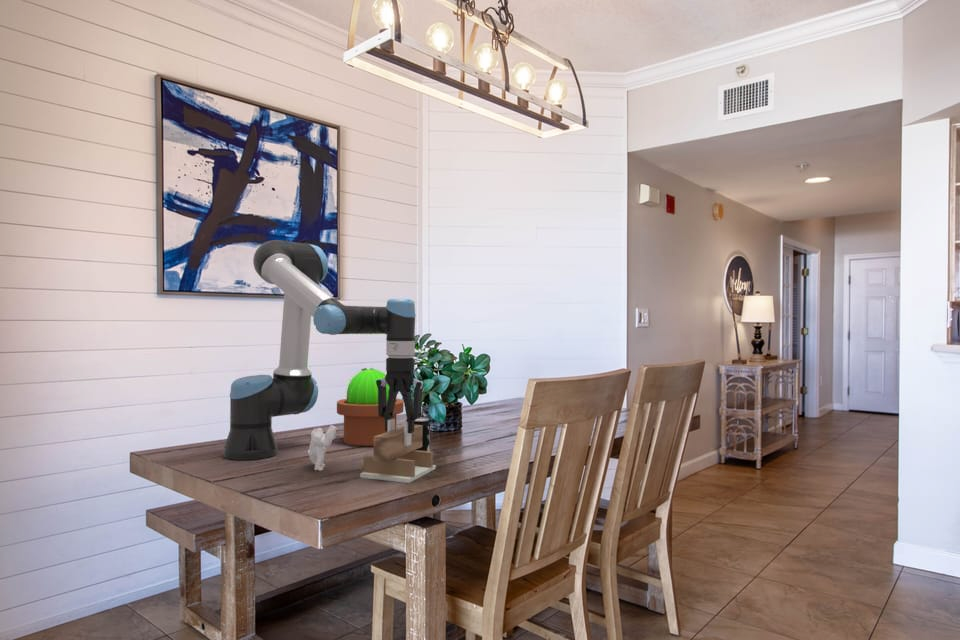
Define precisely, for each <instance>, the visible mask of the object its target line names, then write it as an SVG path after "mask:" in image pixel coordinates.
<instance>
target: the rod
mask: <svg viewBox="0 0 960 640" xmlns="http://www.w3.org/2000/svg"><path fill="white" fill-rule="evenodd" d="M422 438H423V425H414V432H413V433H411V445H409V446H404V426H401V427H398V428H396V429H395V430H392V431H389V432H386V433H383V434H380V435H377V436H374V446H373V454H372V456H373V460H375V461H384V462H388V461H390V460H393V459H395V458H397V457H400V456H402V455H404V454H407V453H409V452H411V451H414V450H416V449H418V448H421V447H422Z"/></svg>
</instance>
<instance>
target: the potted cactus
mask: <svg viewBox="0 0 960 640" xmlns="http://www.w3.org/2000/svg"><path fill="white" fill-rule="evenodd" d="M385 376H386V373H385V372H383V371H381V370H379V369H377V368H373V367H371V368H366V367H364V368H361V369H360V371H359V372H357V373H356V374H355V375H354V376H352V378H351V379H350V380H349V381H350V382H349V383H348V385H347V388H346V391H345V392H344V393H345V394H346V395H344V396H345V397H346V398H341V399H339V400H337V401H336V413H337V414H338V415H339V416H343V442H344V444H347V445H348V446H349V445H350V446H355V447H358V446H359V447H374V436H377V435H380V434H383V433H386V432H388V431H385V419H384V418H383V417H379V415H378V387H377V384H376V381H377V380H381V379H384V378H385ZM388 392H389V385H388V384H387V385H386V395H387V401H388V396H389V394H388ZM404 407H405V405H404V400H403V398H402V399H401V398H398V397H396V402H395V407H394V412H393V416H394V417H393V418H392V419H395V429H397V415H400V414H403V413H404Z"/></svg>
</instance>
